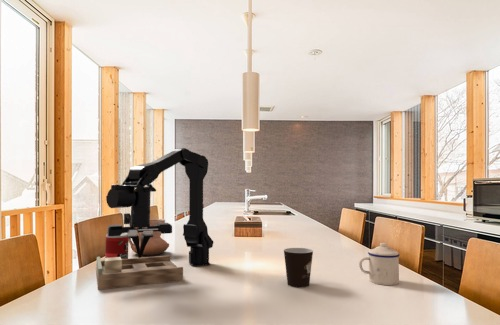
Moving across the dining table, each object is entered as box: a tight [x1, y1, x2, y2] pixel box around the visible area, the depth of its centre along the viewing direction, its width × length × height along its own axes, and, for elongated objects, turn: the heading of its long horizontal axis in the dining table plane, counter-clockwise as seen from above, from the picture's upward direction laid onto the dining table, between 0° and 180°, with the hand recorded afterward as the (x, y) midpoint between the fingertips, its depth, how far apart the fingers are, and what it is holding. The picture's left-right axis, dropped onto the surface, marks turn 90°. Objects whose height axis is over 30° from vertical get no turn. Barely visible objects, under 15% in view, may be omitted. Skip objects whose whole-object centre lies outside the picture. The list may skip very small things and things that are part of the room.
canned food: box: [104, 233, 129, 259], centre depth 133 cm, size 8×8×11 cm
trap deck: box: [95, 255, 184, 291], centre depth 117 cm, size 24×20×6 cm
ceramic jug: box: [128, 218, 170, 256], centre depth 155 cm, size 18×14×14 cm
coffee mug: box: [283, 247, 314, 288], centre depth 110 cm, size 12×9×10 cm
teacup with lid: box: [358, 242, 400, 286], centre depth 113 cm, size 12×9×12 cm
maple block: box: [104, 257, 122, 274], centre depth 110 cm, size 4×4×4 cm
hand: (139, 257), depth 113 cm, fingers closed
